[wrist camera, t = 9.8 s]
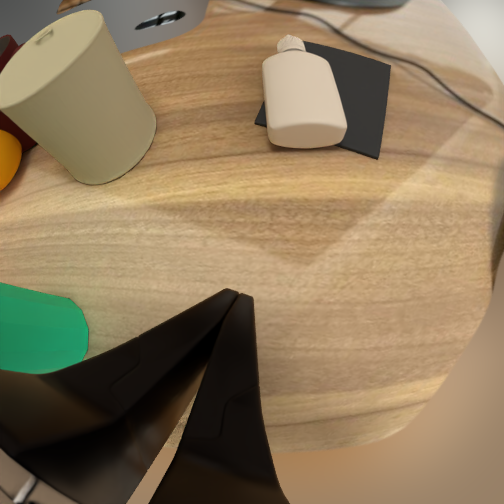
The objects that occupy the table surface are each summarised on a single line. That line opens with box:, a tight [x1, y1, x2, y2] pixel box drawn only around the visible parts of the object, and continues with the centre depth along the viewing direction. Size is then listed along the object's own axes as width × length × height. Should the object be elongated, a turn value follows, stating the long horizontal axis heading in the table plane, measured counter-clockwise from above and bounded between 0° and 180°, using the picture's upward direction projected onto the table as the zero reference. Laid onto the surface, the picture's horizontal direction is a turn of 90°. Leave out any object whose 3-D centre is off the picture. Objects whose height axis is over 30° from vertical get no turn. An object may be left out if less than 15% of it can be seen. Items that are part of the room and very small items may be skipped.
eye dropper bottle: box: [262, 35, 347, 148], centre depth 22 cm, size 4×6×12 cm
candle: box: [0, 282, 89, 374], centre depth 14 cm, size 6×6×12 cm
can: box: [0, 10, 156, 185], centre depth 18 cm, size 9×9×12 cm
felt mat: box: [255, 41, 391, 159], centre depth 24 cm, size 12×10×1 cm
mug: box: [0, 35, 37, 153], centre depth 21 cm, size 12×9×11 cm
